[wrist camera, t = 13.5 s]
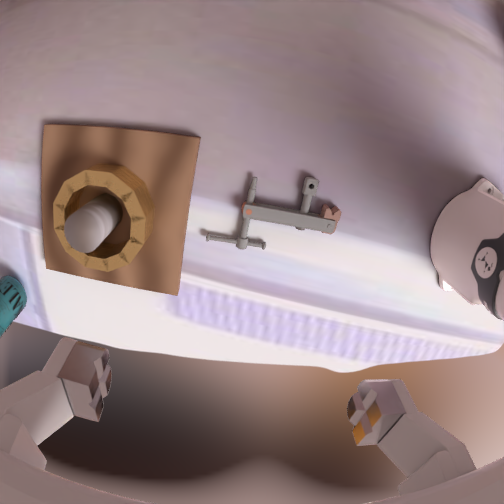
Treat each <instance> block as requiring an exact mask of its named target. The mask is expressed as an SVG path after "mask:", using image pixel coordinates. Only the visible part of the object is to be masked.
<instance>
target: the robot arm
mask: <svg viewBox="0 0 504 504" xmlns="http://www.w3.org/2000/svg"><path fill="white" fill-rule="evenodd" d="M430 250H431V258H432V262H433V264H434V266H435V268H436V270H437V271H438V274H439V285H440V288H441V289H443V290H444V291H454V290H455V291H456V292H457V293H459V294H460V295H461V296H462V297H463V298H464V299H465V300H467V301H468V302H469V303H470V304H472V305H475V304H478V305H479V304H483V305H484V306H485V307H486V309H487V310H488V311H489V312H490V313H491V314H493V315H494V316H495V317H497V318H498V319H501V320H503V321H504V195H503V194H502V193H501V192H500V191H499V190H498V189H497V188H496V187H495V186H494V185H493V184H492V183H491V182H490V181H488V180H487V179H485V178H482V179H480V180H479V181H478V182H477V183H476V184H475V185H474V186H473V187H472V188H471V189H470V190H468V191H466V192H463V193H461V194H459V195H458V196H456V197H455V198H453V199H452V200H451V201H450V202H449V203H448V204H447V205H446V207H445V208H444V209H443V211H442V212H441V214H440V216H439V218H438V219H437V222H436V224H435V227H434V230H433V233H432V238H431V246H430ZM109 358H110V357H109V351H108V350H107V349H104V348H100V347H97V346H94V345H90V344H87V343H83V342H80V341H76V340H72V339H70V338H66V337H64V338H62V339H61V340H60V342H59V344H58V345H57V347H56V348H55V350H54V352H53V353H52V355H51V357H50V358H49V360H48V362H47V363H46V365H45V367H44V369H43V370H42V372H41V371H36V372H34V373H32V374H30V375H28V376H27V377H24V378H22V379H20V380H19V381H17V382H15V383H13V384H11V385H9V386H7V387H5V388H3V389H1V390H0V504H156V503H150V502H145V501H141V500H136V499H132V498H127V497H123V496H119V495H115V494H112V493H108V492H104V491H101V490H97V489H94V488H91V487H88V486H85V485H81V484H79V483H76V482H73V481H70V480H67V479H65V478H62V477H59V476H57V475H54V474H52V473H49V472H47V471H44V469H45V466H46V463H47V461H46V459H45V457H44V456H43V454H42V453H41V452H40V450H39V448H38V447H37V445H38V444H40V443H41V442H42V441H44V440H45V439H46V438H47V437H49V436H50V435H51V434H52V433H54V432H55V431H56V430H57V429H59V428H60V427H61V426H63V425H64V424H65V423H66V422H68V421H69V420H70V419H71V418H73V417H74V415H75V416H79V417H82V418H86V419H90V420H93V421H97V422H98V421H99V418H100V416H101V413H102V409H103V407H104V404H103V399H102V398H104V397H105V396H107V395H108V392H109V389H110V385H111V377H112V376H111V375H112V373H111V367H110V366H109V365H108V364H107V363H108V361H109ZM357 388H358V392H357V393H355V394H354V395H353V396H352V397H351V398H350V400H349V402H348V406H347V416H348V419H349V421H350V422H351V423H352V424H353V425H354V428H353V430H352V432H353V435H354V439H355V442H356V445H357V446H360V445H373V444H378V445H377V446H378V447H379V448H380V449H381V450H382V451H383V452H384V453H385V454H386V455H387V457H389V459H390V460H391V461H392V462H393V463H394V464H395V465H396V466H397V467H398V468H399V469H400V470H401V471H402V472H403V473H404V474H405V475H406V477H407V479H406V480H404V481H403V482H402V483H401V484H400V485H399V486H398V491H399V494H400V496H396V497H392V498H387V499H383V500H378V501H374V502H369V503H364V504H504V457H502V458H500V459H498V460H496V461H494V462H492V463H490V464H488V465H485V466H483V467H481V468H479V469H476V467H475V465H474V463H473V461H472V459H471V457H470V455H469V452H468V450H467V449H466V446H465V445H464V444H463V443H462V442H461V441H459V440H458V439H457V438H456V437H454V436H453V435H452V434H450V433H449V432H448V431H446V430H445V429H444V428H442V427H441V426H440V425H438V424H437V423H436V422H434V421H433V420H431V419H430V418H429V417H428V416H426V415H425V414H424V413H422V412H418V410H417V408H416V406H415V404H414V402H413V400H412V398H411V396H410V394H409V392H408V390H407V388H406V386H405V384H404V382H403V381H402V380H401V379H390V380H363V381H362V382H360V384H359V385H358V387H357Z"/></svg>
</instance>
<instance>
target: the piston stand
mask: <svg viewBox="0 0 504 504" xmlns="http://www.w3.org/2000/svg"><path fill="white" fill-rule="evenodd" d="M200 138H201V137H195V136H188V135H181V134H173V133H166V132H158V131H149V130H140V129H130V128H118V127H106V126H91V125H71V124H46V125H44V134H43V148H42V174H41V200H42V226H43V241H44V252H45V262H46V269H50V270H54V271H59V272H63V273H67V274H72V275H76V276H81V277H85V278H90V279H94V280H99V281H104V282H109V283H113V284H118V285H123V286H128V287H133V288H138V289H144V290H149V291H154V292H160V293H165V294H171V295H176V296H177V295H178V292H179V286H180V276H181V267H182V259H183V250H184V242H185V235H186V227H187V220H188V213H189V206H190V199H191V192H192V186H193V179H194V173H195V167H196V161H197V155H198V150H199V144H200ZM99 163H104V164H113V165H121V166H125V167H126V168H128V169H129V170H130V171H131V172H133V173H134V174H135V175H136V176H138V177H139V178H140V179H141V180H143V181H144V182H145V184H146V187H147V189H148V191H149V194H150V196H151V198H152V201H153V203H154V205H155V211H154V221H153V231H152V233H151V234H150V236H149V237H148V239H147V240H146V242H145V244H144V245H143V246H142V248H141V249H140V250H139V252H138V253H137V255H136V256H135V257H134V259H133V260H132V262H131V263H130V264H129V265H126V266H123V267H120V268H117V269H115V270H112V271H109V272H106V271H101V270H97V269H92V268H87V267H84V266H83V265H82V264H80V263H79V262H78V261H77V260H75V259H74V258H73V257H72V256H70V255H69V254H68V253H67V252H66V251H65V250H64V248H63V246H62V244H61V242H60V240H59V238H58V236H57V234H56V232H55V230H54V218H53V203H54V201H55V199H56V197H57V195H58V193H59V191H60V189H61V187H62V185H63V183H64V181H66V180H68V179H70V178H71V177H73V176H75V175H77V174H79V173H80V172H82V171H84V170H86V169H88V168H90V167H93V166H95V165H97V164H99ZM130 231H131V218H130V216H129V213H128V211H127V209H126V207H125V204H124V202H123V200H122V199H121V198H119V197H118V196H117V195H116V194H114V193H113V192H112V191H110V190H109V189H108V188H107V187H101V186H93V185H87V186H86V188H85V190H84V192H83V193H82V195H81V197H80V202H79V209H78V210H77V211H76V212H74V213H73V214H72V215H70V216H69V217H68V218H67V220H66V222H65V225H64V233H65V237H66V239H67V241H68V243H69V244H70V245H71V247H73V248H74V249H75V250H77V251H79V252H82V253H89V252H92V251H94V250H95V249H96V248H97V247H98V246H99V245H100V244H101V242H104V243H109V244H115V245H117V244H119V243H122V242H124V241H127V240H129V239H130Z"/></svg>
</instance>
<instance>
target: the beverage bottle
mask: <svg viewBox="0 0 504 504" xmlns="http://www.w3.org/2000/svg"><path fill="white" fill-rule="evenodd" d="M26 302H27V296H26V292H25V290H24V288H23V286H22V285H21V284H20V282H19V281H18V280H16V279H15V278H14V277H11V276H4V277H2V278H1V279H0V337H1V335H2V334H3V333H4V331H5V330H6V329H7V327H8V326H9V325H11V322H12V321H13V320H15V318H17V317H18V315H19V314H20V312H21V311H22V310H23V308H24V307H25V306H26Z"/></svg>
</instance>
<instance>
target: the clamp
mask: <svg viewBox="0 0 504 504" xmlns="http://www.w3.org/2000/svg"><path fill="white" fill-rule="evenodd" d="M256 181H257V177H253V178H252V183H251V186H250V188H249V192H248V197H247V201H245V202H244V203H243V204H242V214H243V223H242V228H241V234H240V235H238V238H237V239H231V238H224V237H217V236H211V235H210V234H209V233H208V234H207V236H206V238H207V239H206V240H207V241H209V240H215V241H221V242H228V243H235V244H236V247H237V248H239V249H246V248H247V245H248V246H255V247H261V248H262V249H263V250H264V249H265V248H266V242H263V243H257V242H250V241H248V237H247V232H248V227H249V222H250V219H254V220H260V221H266V222H272V223H278V224H284V225H289V226H295V227H296V229H298V230H305V228H306V229H312V230H317V231H321V232H322V233H328V234H332V233H334V232H335V229H336V226H337V223H338V221H339V219H340V216H341V211H340V210H339V209H338V208H337V207H336V206H335V207H333V208H332V209H331V210H330V208H329V207H328V206H327V205H326V204H324V205H323V206H322V210H321V214H316V213H311V212H308V211H309V207H310V203H311V199H312V196H315V195H316V191H317V187H318V183H319V181H318V180H317V179H315V178H313V177H305V181H304V185H303V189H302V193H303V194H304V197H303V201H302V205H301V209H300V210H295V209H290V208H285V207H279V206H274V205H268V204H263V203H257V202H254V197H255V192H256V189H255V188H256ZM310 184H312V187H309V185H310Z"/></svg>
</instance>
